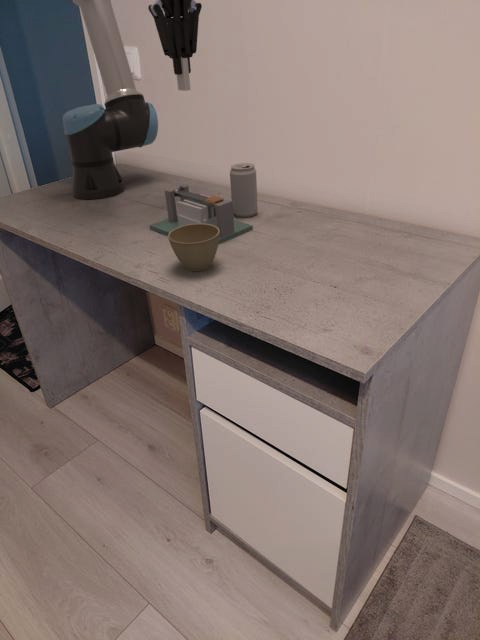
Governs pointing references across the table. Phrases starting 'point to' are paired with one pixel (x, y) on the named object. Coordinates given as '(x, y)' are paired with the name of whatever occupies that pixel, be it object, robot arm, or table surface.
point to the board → (201, 216)
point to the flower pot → (195, 245)
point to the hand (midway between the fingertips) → (184, 90)
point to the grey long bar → (197, 197)
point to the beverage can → (243, 189)
